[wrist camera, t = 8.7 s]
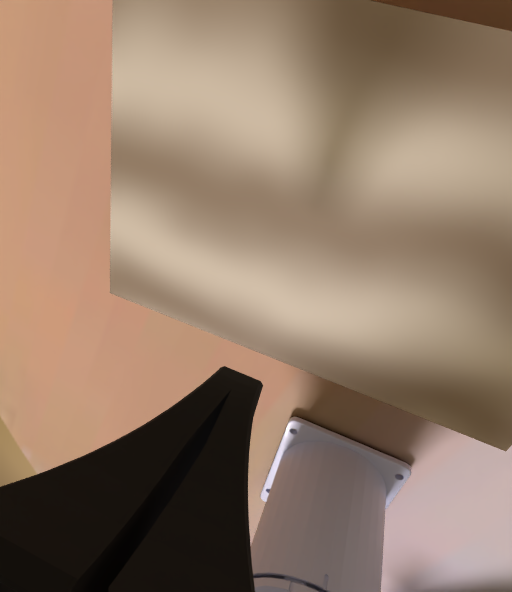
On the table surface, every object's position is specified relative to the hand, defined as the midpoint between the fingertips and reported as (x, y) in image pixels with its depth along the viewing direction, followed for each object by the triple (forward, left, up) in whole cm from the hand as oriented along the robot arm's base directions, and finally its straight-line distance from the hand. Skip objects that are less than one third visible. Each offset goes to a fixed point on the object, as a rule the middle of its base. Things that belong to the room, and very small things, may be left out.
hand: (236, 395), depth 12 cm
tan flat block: (+4, -1, -10) cm, 11 cm away
